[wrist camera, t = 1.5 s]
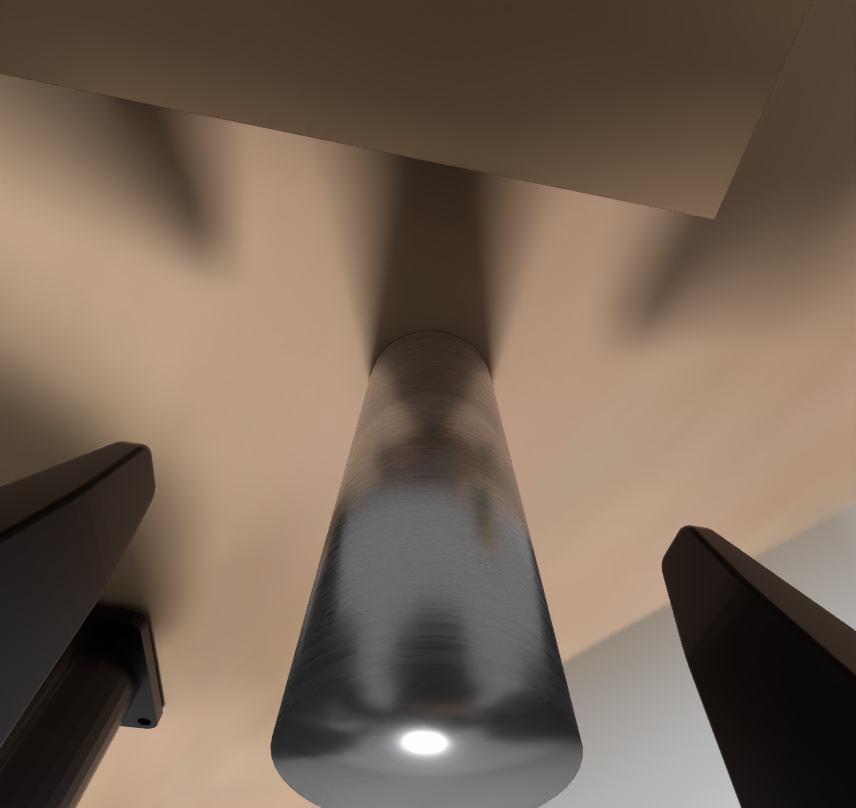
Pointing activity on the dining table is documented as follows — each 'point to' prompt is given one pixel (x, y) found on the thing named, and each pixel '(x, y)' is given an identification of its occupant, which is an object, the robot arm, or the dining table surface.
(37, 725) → the robot arm
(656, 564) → the dining table surface
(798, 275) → the dining table surface
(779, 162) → the dining table surface
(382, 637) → the peg
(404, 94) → the hole block
